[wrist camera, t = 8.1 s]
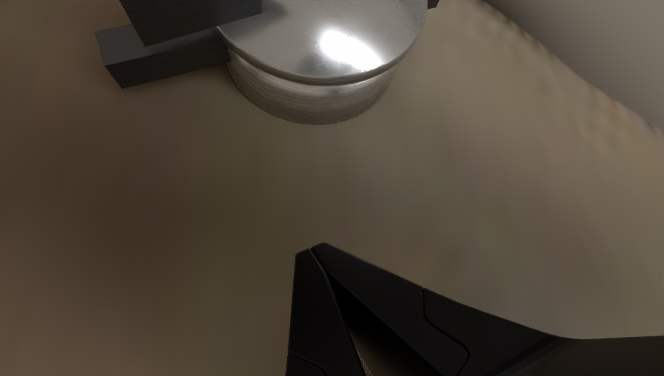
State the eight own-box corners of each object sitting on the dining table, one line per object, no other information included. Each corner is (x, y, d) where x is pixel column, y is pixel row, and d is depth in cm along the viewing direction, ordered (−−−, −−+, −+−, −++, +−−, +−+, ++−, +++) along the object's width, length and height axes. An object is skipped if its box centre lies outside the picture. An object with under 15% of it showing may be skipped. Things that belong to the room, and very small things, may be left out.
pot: (454, 85, 28) (487, 41, 24) (159, 180, 22) (126, 147, 18) (382, -32, 32) (399, -90, 27) (112, 23, 26) (74, -38, 21)
